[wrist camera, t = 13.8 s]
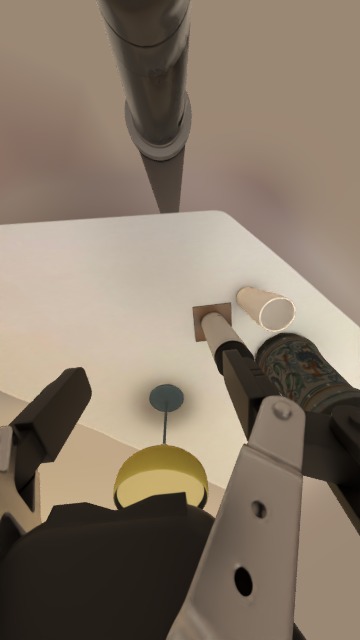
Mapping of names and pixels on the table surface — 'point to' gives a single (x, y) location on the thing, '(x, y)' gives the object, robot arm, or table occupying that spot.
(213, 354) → the travel mug
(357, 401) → the beer stein
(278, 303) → the drinking glass
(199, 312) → the coaster
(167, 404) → the cocktail glass
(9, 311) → the table surface
